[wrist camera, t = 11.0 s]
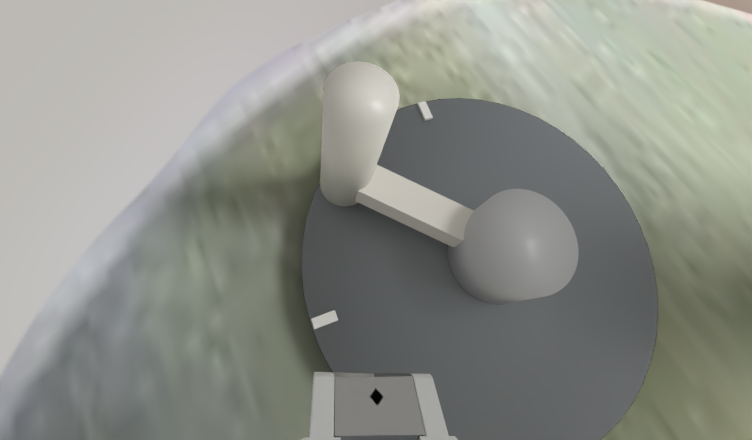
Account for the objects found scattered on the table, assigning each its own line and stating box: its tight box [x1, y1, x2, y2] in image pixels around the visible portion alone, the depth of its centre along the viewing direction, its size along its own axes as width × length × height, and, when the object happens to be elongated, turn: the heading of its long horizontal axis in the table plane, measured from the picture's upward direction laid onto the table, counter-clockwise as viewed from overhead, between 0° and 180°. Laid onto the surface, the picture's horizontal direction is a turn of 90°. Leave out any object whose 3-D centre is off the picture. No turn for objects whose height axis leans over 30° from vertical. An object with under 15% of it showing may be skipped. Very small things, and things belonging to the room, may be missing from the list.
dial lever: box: [320, 61, 579, 304], centre depth 19 cm, size 15×6×9 cm, turn 67°
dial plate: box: [301, 98, 658, 440], centre depth 24 cm, size 24×24×2 cm
